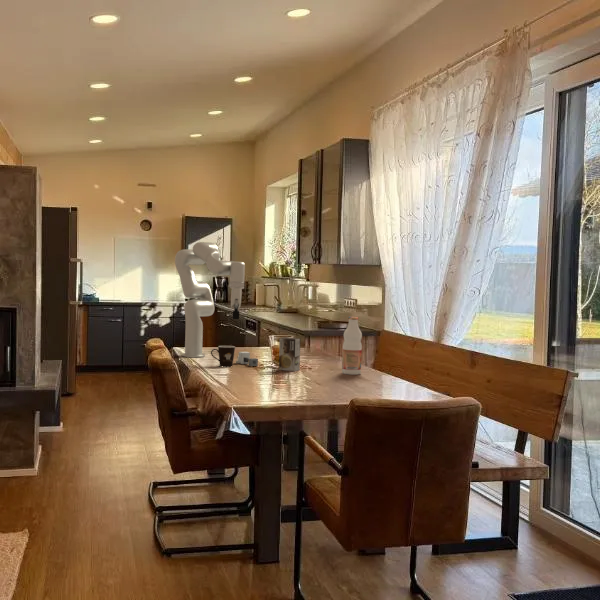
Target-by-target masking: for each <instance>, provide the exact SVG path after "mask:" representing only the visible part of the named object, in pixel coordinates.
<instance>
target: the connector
mask: <svg viewBox="0 0 600 600" xmlns="http://www.w3.org/2000/svg"><path fill="white" fill-rule="evenodd" d="M253 361H256V364H255V363H254V364H253ZM249 366H259V359H258V358H254V357H253V358H251V357H250V359H249V364H248V367H249Z"/></svg>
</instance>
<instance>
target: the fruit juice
mask: <svg viewBox="0 0 600 600" xmlns="http://www.w3.org/2000/svg"><path fill="white" fill-rule="evenodd" d="M358 321H359V317H358V316H348V324H347V326H346V329H345V330H344V331H343V340H344V341H343V343H342V356H341V357H342V359H341V360H342V361H341V373H342V374H343V375H348V376H349V375H351V376H356V375H360V374H361V373H362V353H363V352H362V350H363V346H362V345H363V343H362V338H363V333H362V330H361V329H360V327H359V322H358Z"/></svg>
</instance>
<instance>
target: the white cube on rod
mask: <svg viewBox="0 0 600 600" xmlns="http://www.w3.org/2000/svg"><path fill="white" fill-rule="evenodd" d="M238 356H239V359H238V363H237V364H241V365H246V364H247V365H249V363H248V362H245V361H244V358H247V359H250V358H251V352H248V351H238Z"/></svg>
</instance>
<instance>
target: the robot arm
mask: <svg viewBox="0 0 600 600" xmlns="http://www.w3.org/2000/svg"><path fill="white" fill-rule="evenodd" d="M174 264H175V268H176V271H177V273H178V276H179V279H180V284H181V289H182V293H183V295H184V297H185V298H188V299H189V300H187V301H186V302H185V303H184V305H183V307H184V309H183V310H184V316H185V317H184V318H185V332H184V333H185V336H184V337H185V339H184V340H185V341H184V352H183V353H181V356H182V357H185V358H204V357H206V354H205V353H203V338H204V337H203V335H204V334H203V333H204V331H203V330H204V326H203V325H204V324H203V323H204V322H203V321H202V319H201V317H210V316H212V315H213V314H214V313H215V302H214V298H213V295H212V289H211V287H210V285H209V284H208V283H207V282H205V281H201V280H200V281H198V280H197V277H196V274H195V272H194V270H193V268H191V266H193V265H194V266H196V265H197V266H202V265H205V266H206V269H208V271H210V272H211V273H213V274H215V275H216V276H217V275H218V276H229V289H231V291H230V292H231V293H230V307H231V308H233V309H232V320H239V319H240V308H241V305H242V297H243V296H242V293H243V291H242V290H243V289H245V278H246V277H245V275H246V274H245V273H246V272H245V271H246V264H245V262H244V261H235V260H234V261H233V260H220V252H219V246H217V244H215V243H214V242H208V241H206V242H205V241H200V242H199V241H198V242H196V243H194V245H193V246H192V249H191V248H190V249H187V248H186V249H185V248H184V249H180V250H178V251H177V252H176V254H175V257H174ZM190 265H191V266H190Z"/></svg>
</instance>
